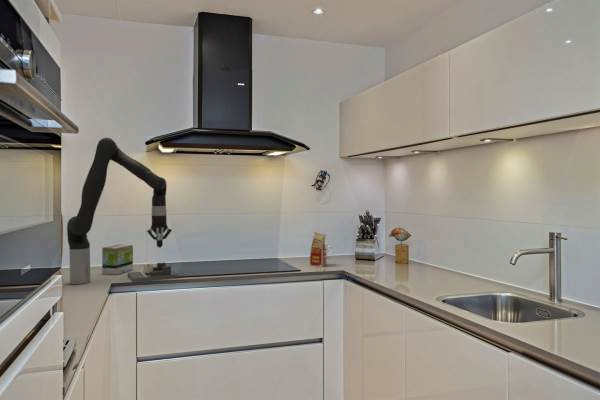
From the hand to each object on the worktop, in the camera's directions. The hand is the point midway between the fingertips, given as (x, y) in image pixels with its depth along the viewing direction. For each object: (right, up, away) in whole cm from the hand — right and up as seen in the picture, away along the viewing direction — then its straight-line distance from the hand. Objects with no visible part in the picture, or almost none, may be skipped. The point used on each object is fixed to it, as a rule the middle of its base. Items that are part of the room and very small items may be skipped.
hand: (159, 247), depth 240 cm
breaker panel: (-3, -16, -1) cm, 16 cm away
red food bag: (+86, -14, +30) cm, 92 cm away
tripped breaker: (-5, -14, -2) cm, 15 cm away
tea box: (-28, -16, +15) cm, 35 cm away
